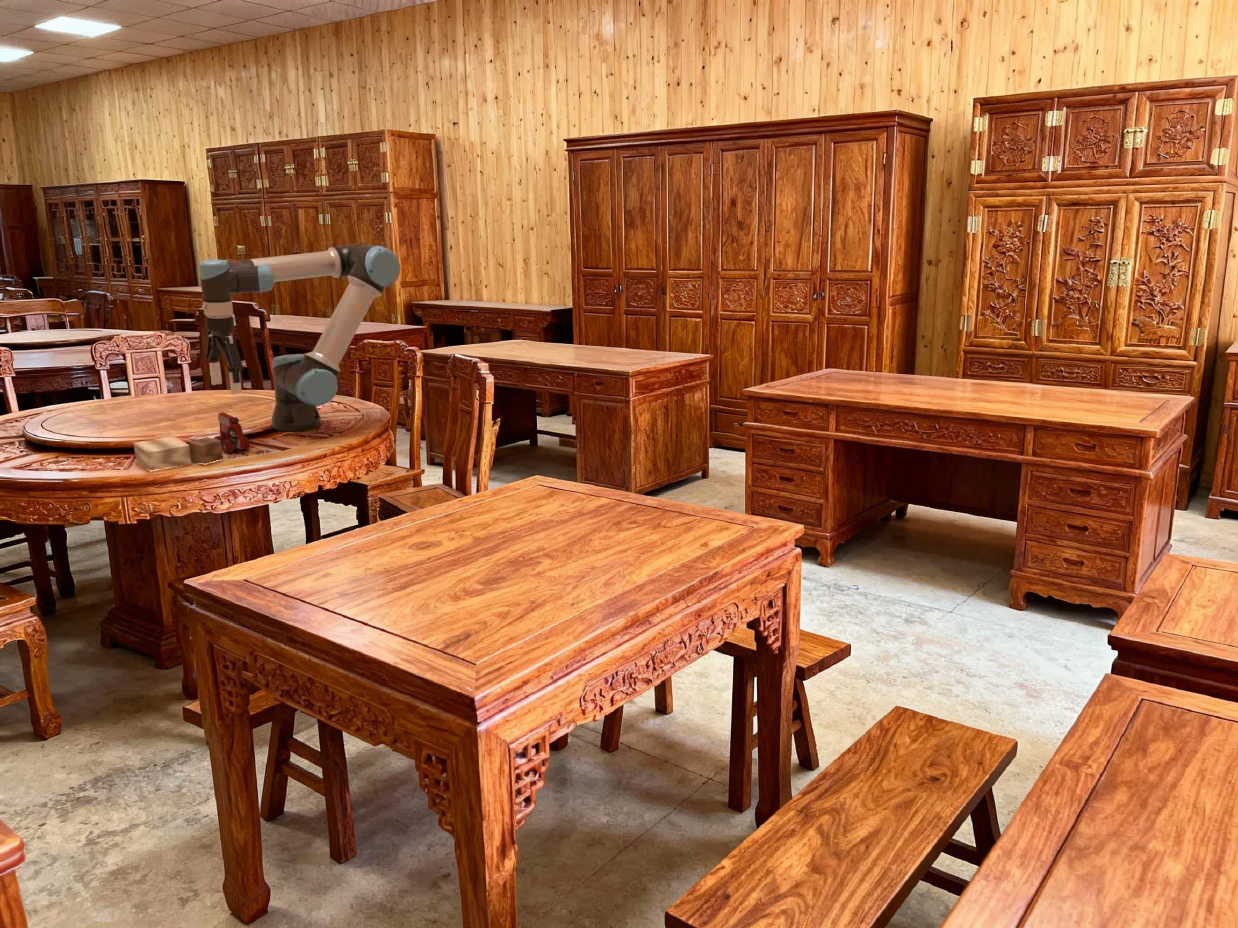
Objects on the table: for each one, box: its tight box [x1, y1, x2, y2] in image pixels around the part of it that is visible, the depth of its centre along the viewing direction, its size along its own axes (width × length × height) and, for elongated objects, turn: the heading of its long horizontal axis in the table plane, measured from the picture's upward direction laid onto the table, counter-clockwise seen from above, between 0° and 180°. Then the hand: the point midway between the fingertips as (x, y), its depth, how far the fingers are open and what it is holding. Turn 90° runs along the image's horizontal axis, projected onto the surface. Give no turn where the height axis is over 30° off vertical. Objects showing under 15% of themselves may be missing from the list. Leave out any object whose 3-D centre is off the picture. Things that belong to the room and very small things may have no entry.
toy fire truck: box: [213, 412, 251, 455], centre depth 271 cm, size 7×12×10 cm, turn 48°
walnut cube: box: [188, 436, 224, 464], centre depth 261 cm, size 6×6×6 cm
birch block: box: [133, 435, 192, 470], centre depth 258 cm, size 11×11×6 cm
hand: (226, 388), depth 267 cm, fingers open, 13 cm apart
